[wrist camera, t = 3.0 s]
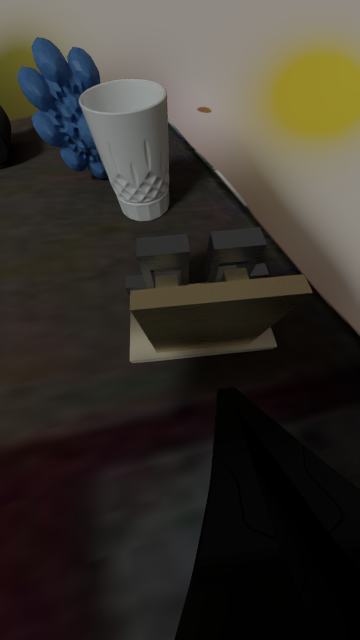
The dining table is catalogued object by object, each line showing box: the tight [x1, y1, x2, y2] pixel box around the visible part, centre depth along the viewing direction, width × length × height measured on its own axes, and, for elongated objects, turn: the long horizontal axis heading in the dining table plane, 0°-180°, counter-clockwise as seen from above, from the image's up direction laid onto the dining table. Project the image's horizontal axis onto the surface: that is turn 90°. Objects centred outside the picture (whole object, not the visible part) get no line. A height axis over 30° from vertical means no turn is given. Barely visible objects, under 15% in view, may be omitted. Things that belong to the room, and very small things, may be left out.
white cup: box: [79, 79, 169, 221], centre depth 20 cm, size 8×8×10 cm
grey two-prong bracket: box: [125, 227, 269, 295], centre depth 14 cm, size 2×12×6 cm, turn 95°
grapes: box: [17, 37, 108, 179], centre depth 22 cm, size 12×7×12 cm, turn 120°
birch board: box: [130, 283, 277, 363], centre depth 17 cm, size 7×13×1 cm, turn 95°
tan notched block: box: [130, 268, 313, 353], centre depth 12 cm, size 4×8×8 cm, turn 96°
